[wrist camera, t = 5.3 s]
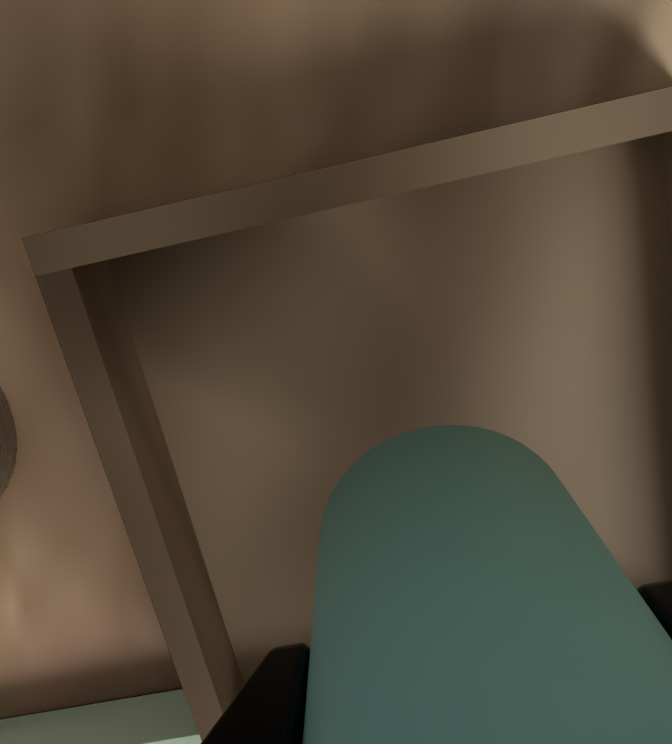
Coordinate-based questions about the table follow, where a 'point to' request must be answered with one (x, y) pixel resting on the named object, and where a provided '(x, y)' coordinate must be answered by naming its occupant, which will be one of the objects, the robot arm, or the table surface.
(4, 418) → the tin
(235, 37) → the table surface
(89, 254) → the tray
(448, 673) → the peg
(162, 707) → the tray
